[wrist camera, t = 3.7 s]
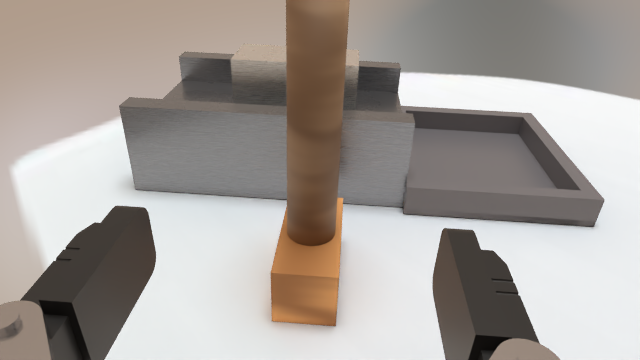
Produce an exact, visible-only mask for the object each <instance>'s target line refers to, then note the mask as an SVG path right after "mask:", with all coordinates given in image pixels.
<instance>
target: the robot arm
mask: <svg viewBox="0 0 640 360" xmlns="http://www.w3.org/2000/svg"><path fill="white" fill-rule="evenodd" d="M155 262H156V251H155V246H154V240H153V235H152V230H151V225H150V220H149V215H148V212H147V210H146V209H145V208H143V207H128V206H115V207H114V208H113V209H112V210H111V211H110V212H109V214H108V215H107V216H106V217H105V218H104V220H103V221H102V222H101V223H93V224H92V225H90V226H89V227H87V228H85V229H84V230H82V231H81V232H79V233H78V234H77V235H76V236H75V237H74V238H73V239H72V240H71V242H70V243H69V244H68V245H67V246H66V249H65V250H63V251H62V252H61V253H60V254H59V256H58V257H57V258H56V261H53V263H52V264H51V265H50V266H49V267H48V268H47V270H46V271H45V272H44V273H43V274H42V275H41V277H40V278H39V279H38V280H37V281H36V282H35V284H34V285H33V286H32V287H31V288H30V289H29V291H28V292H27V293H26V294H25V295H24V297H23V298H22V299H21V300H20V301H14V302H8V303H5V304H2V305H0V360H104V359H105V357H106V356H107V354H108V352H109V350H110V349H111V347H112V345H113V343H114V341H115V340H116V338H117V336H118V334H119V332H120V331H121V329H122V327H123V325H124V324H125V322H126V320H127V318H128V316H129V315H130V313H131V311H132V309H133V307H134V306H135V304H136V302H137V300H138V299H139V297H140V295H141V293H142V291H143V290H144V288H145V286H146V284H147V282H148V281H149V279H150V277H151V275H152V273H153V271H154V267H155ZM433 296H434V302H435V307H436V312H437V317H438V322H439V327H440V333H441V338H442V343H443V348H444V353H445V358H446V360H560V359H559V358H558V357H557V356H556V355H555V354H554V353H553V352H552V351H551V350H549V349H548V348H546V347H545V346H543V345H541V344H540V343H539V341H538V339H537V336H536V334H535V331H534V329H533V326H532V324H531V322H530V319H529V317H528V314H527V312H526V310H525V307H524V305H523V302H522V300H521V298H520V296H518V290H517V288H516V286H515V283H513V278H512V276H511V274H510V271H509V269H508V266H507V264H506V263H505V262H504V261H503V260H502V259H501V258H500V257H499V256H498V255H497V254H496V253H495V252H494V251H490V250H481V249H480V246H479V243H478V241H477V238H476V235H475V233H474V231H473V230H462V229H447V228H444V229H443V231H442V234H441V239H440V244H439V248H438V253H437V258H436V263H435V268H434V273H433Z"/></svg>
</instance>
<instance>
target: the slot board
mask: <svg viewBox="0 0 640 360" xmlns="http://www.w3.org/2000/svg"><path fill="white" fill-rule="evenodd" d="M234 55H235V54H218V53H198V52H184V53H183V54H182V55H181V56H179V60H180V69H181V76H182V81H181V82H180V83H179V84H178V85H177V86H176V87H175V88H174V89H173V90H172V91H171V92H169V94H167V95H166V96H165V97H164V98H163V99H150V98H149V99H148V98H132V97H129V98H128V99H127V100H126V101H125V102H123V103H122V104H121V105H120V106H119V107H120V113H121V118H122V123H123V128H124V133H125V138H126V143H127V148H128V153H129V158H130V163H131V168H132V173H133V178H134V184H135V189H137V190H152V191H167V192H182V193H197V194H212V195H227V196H242V197H256V198H271V199H286V200H287V106H271V105H253V104H236V103H233V89H232V74H231V58H232V57H233V56H234ZM400 70H401V68H400V64H399V63H388V62H368V61H359V71H358V84H357V97H356V110H343V115H342V132H341V148H340V164H339V180H338V197H337V198H343V203H346V204H361V205H376V206H391V207H403V202H404V195H405V189H406V182H407V175H408V168H409V162H410V155H411V148H412V141H413V135H414V128H415V121H414V117H413V114H409V113H402V110H401V106H400V101H399V96H398V86H399V78H400Z"/></svg>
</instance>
